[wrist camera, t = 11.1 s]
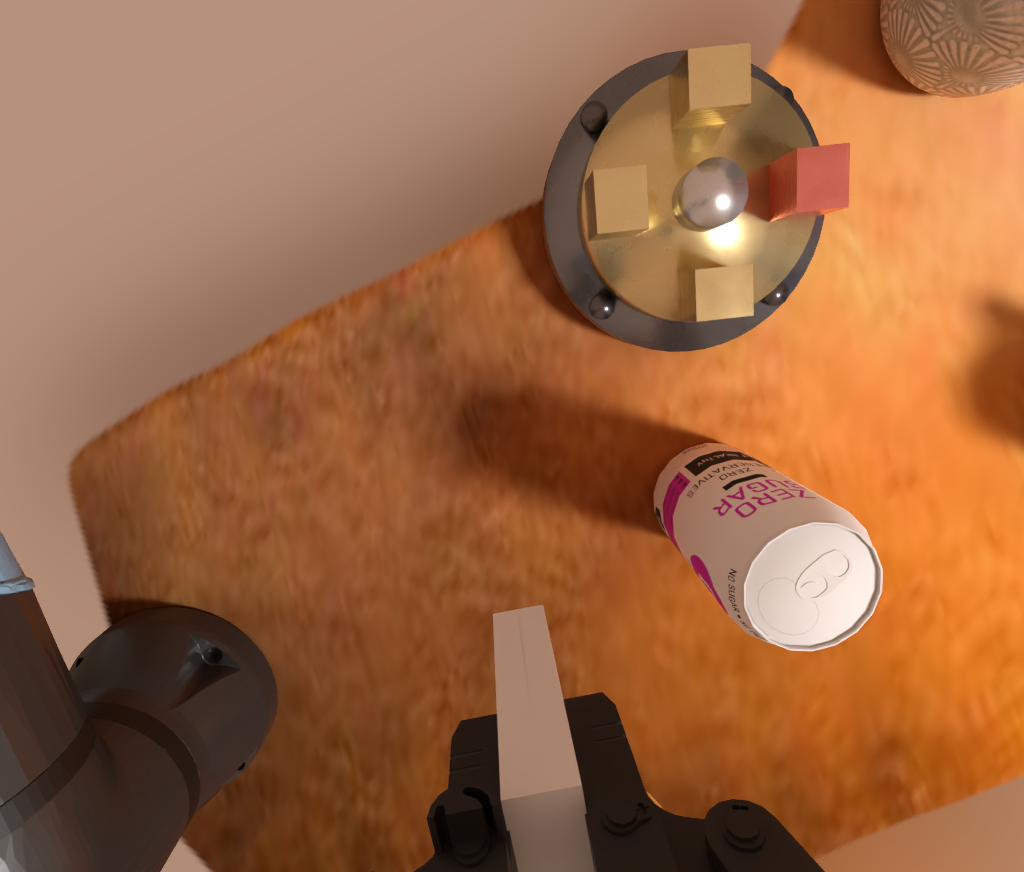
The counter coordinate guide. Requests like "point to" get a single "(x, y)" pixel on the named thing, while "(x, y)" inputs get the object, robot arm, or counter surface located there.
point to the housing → (696, 203)
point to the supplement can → (769, 548)
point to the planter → (956, 44)
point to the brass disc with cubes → (677, 149)
